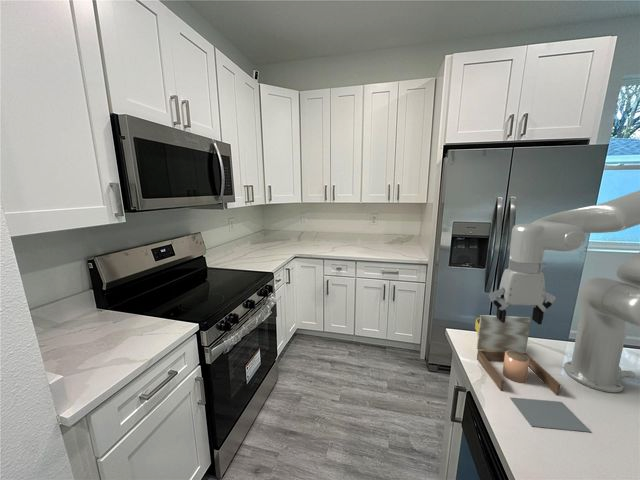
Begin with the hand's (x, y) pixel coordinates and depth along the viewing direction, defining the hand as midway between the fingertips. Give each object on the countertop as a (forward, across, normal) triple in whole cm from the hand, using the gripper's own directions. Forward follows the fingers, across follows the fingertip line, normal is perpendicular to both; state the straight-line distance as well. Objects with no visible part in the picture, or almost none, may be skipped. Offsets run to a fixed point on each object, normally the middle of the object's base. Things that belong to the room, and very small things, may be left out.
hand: (518, 321), depth 77 cm
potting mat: (+18, -1, +14) cm, 23 cm away
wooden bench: (+18, 0, -1) cm, 19 cm away
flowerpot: (+18, 0, 0) cm, 19 cm away
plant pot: (+19, 0, -15) cm, 24 cm away
